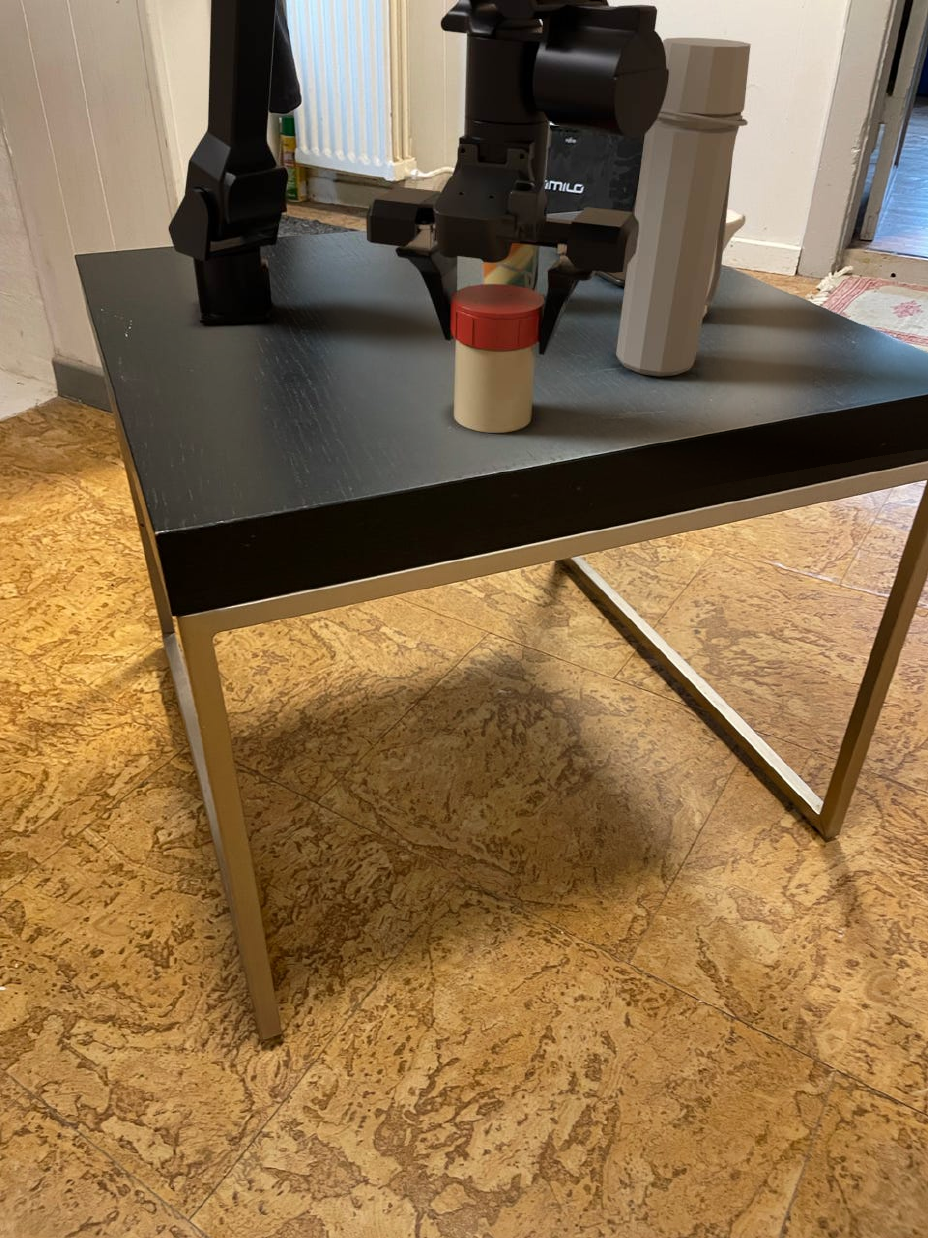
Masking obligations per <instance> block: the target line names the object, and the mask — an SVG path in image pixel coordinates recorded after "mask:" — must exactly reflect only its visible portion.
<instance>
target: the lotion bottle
mask: <svg viewBox="0 0 928 1238" xmlns="http://www.w3.org/2000/svg"><path fill="white" fill-rule="evenodd" d="M539 260H540V246H535V245H527V244H518V243H513V244H512V246H511V250H510V253H509V255H508V257H507V258H506V259H504V260H503V261H501V262H497V263H487V262H483V261H481V262H482V268H481V269H482V270H481V271H482V272H481V273H482V274H481V285H482V284H504V285H513V286H519V287H523V288H527V289H530V290H533V291H535V292H537V293H538V283H539V282H538V279H539Z"/></svg>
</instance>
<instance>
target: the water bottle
mask: <svg viewBox="0 0 928 1238" xmlns="http://www.w3.org/2000/svg"><path fill="white" fill-rule="evenodd" d="M662 42H663V45H664V48H665V54H666V69H668V70H669V79H668V86H667V91H666V96H665V99H664V102H663V105H662V108H661V110H660V112H659V115H658V117H657V119H656V121H655V122H654V124H653V125H652V127H651V128H650V129H649V130H648V131H647V132H646V134H645V135H644V138H643V146H642V153H641V162H640V169H639V178H638V185H637V192H636V199H635V200H636V201H635V207H634V213H633V214H634V215H635V217H636V219H637V220H638V222H639V233H638V240H637V248H636V253H635V255H634V256H633V257H632V259H631V260H630V262H629V263H628V267H627V275H626V282H625V287H624V290H623V299H622V305H621V306H622V307H621V314H620V322H619V327H618V337H617V343H616V344H617V345H616V351H615V356H616V357H617V359H618V361H619V362H620V364H622V366H623V367H625V368H626V369H627V370H630V371H633V372H635V373H638V374H640V375H645V376H652V377H673V376H677V375H680V374H683V373H685V372H688V371H689V370H691V368H693V366H694V364H695V360H696V356H697V350H698V346H699V340H700V335H701V330H702V325H703V324H702V323H703V319H704V317H703V314H704V308H705V305H707V306H709V305H713V302H714V299H715V296H716V294H717V290H718V286H719V282H720V279H721V274H722V267H723V255H724V251H723V246H724V236H725V226H726V217H727V209H728V207H729V197H730V187H731V176H732V166H733V157H734V149H735V145H736V141H737V140H736V139H737V135H738V132H739V129H740V127H743V126H747V125H748V123H749V122H748V121H747V119H744V118H743V117H744V116H743V115H742V112H743V111H744V110H745V104H746V94H747V85H748V74H749V64H750V54H751V45H752V44H751V43H749V42H744V41H740V40H733V39H731V40H730V39H722V38H707V37H706V38H705V37H667V38H665V39H664V40H662ZM717 237H718V239H717ZM716 243H717V249H716V258H715V268H714V274H713V278H712V282H711V287H710V290H709V293H708V295H707V292H708V286H709V281H710V275H711V270H712V265H713V259H714V254H715V248H716ZM706 297H707V298H706Z"/></svg>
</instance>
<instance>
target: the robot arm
mask: <svg viewBox="0 0 928 1238" xmlns="http://www.w3.org/2000/svg"><path fill="white" fill-rule="evenodd" d="M609 4H610V3H609V0H458V1H457V2H456V4H455V5H454V6H452V8H450V9H449V10H448V11H447V12H446V13H445V15H444V16H443V17H442V18H441V19H440V28H441V29H442V30H443V31H444V32H449V33H456V34H457V33H458V34H465V35H466V49H465V53H466V54H465V84H464V85H465V87H464V88H465V89H464V94H465V95H464V123H463V124H464V125H463V128H464V129H463V135H461V136H460V137H459V138H458V147H457V153H456V158H457V159H456V163H455V166H454V169H453V173H452V175H451V176H450V177H448V179H447V181H446V182H445V184H444V186H443V187H442V189H441V191H440V190H434V189H425V188H417V187H415V188H414V187H405V186H396V187H394V188H392V189H390V190H388V191H386V192H385V193H383V194H381V195H380V196H378V197H376V198H374V200H373V201H372V202H371V203H370V204H369V205H368V209H367V212H366V215H365V223H366V224H365V227H366V241H367V242H368V243H371V244H378V245H385V246H392V247H396V248H395V253H396V256H397V257H398V258H400V259H401V258H402V259H406V260H408V261H409V262H410V263H411V264H412V265H413V267H415V268H416V270H418V272H419V274H420V275H421V277H422V280H423V283H424V284H425V286H426V288H427V291H428V293H429V296H430V299H431V301H432V302H431V303H432V306H433V309H434V311H435V314H436V317H437V320H438V322H439V325H440V330H441V331H442V334H443V337H444V340H445V341H447V342H451V341H452V340H453V339H455V338H454V337H453V335H452V333H451V331H452V330H450V327H451V304H452V296H453V294H454V293H455V292H456V291H458V257H460V258H461V257H462V258H467V259H468V258H469V259H476V260H477V259H478V260H480V261H481V262H487V263H497V262H501V261H503V260H504V259H506V258H507V257H508V255H509V253H510V250H511V246H512V244H513V243H518V244H527V245H535V246H539V247H544V248H553V249H556V248H558V249H557V250H556V255H557V256H558V258H557V259H556V261H555V262H554V263H552V265H551V266H550V268H548V270H547V291H546V297H545V301H544V313H543V319H542V324H541V330H540V336H539V343H538V354H539V355H540V356H541V355H542V356H544V355H545V354H546V352H547V351H548V348H549V347H550V345H551V342H552V340H553V338H554V336H555V333H556V331H557V328H558V326H559V323H560V321H561V319H562V317H563V315H564V313H565V310H566V308H567V306H568V303H569V301H570V299H571V297H572V295H573V294H574V291H575V289H576V288H577V286H578V284H580V283H579V282H586V281H590V280H592V278H593V277H594V276H595V275H596V272H597V271H600V272H608V273H618V272H623V271H624V269H625V268H626V266H627V265H628V263H629V262H630V260H631V259H632V257H633V256H634V255H635V253H636V248H637V240H638V233H639V222H638V220H637V219H636V217H635V215H634V214H635V213H634V212H633V211H627V210H616V209H607V208H598V207H589V206H585V207H584V208H583V209H582V210H581V211H580V212H579V214H577V215H576V216H575V217H574V218H573V219H564V218H553V217H548V197H547V195H548V194H547V193H546V181H547V180H546V179H547V169H548V168H547V167H548V155H549V154H548V153H549V148H550V147H551V144H552V143H551V142H552V129H551V124H553V126H556V127H562V128H567V129H572V130H577V131H578V130H579V131H584V132H589V133H595V134H600V135H606V136H612V137H617V138H623V139H628V140H638V139H640V138H641V137H643V136H645V134H646V132H647V131H648V130H649V129H650V128H651V127H652V125H653V124H654V122H655V121H656V119H657V117H658V115H659V112H660V110H661V108H662V105H663V102H664V99H665V96H666V91H667V86H668V79H669V70H668V69H666V54H665V48H664V45H663V40H662V38H661V36H660V34H659V33H658V31H656V25H657V17H658V8H657V7H656V6H655V5H650V4H649V5H648V4H626V5H618V6H615V5H613V6H612V5H609ZM276 10H277V0H210V26H209V27H210V28H209V30H210V31H209V33H210V34H209V63H208V64H209V65H208V66H209V67H208V107H207V108H208V109H207V110H208V111H207V128H206V131H205V133H204V134H203V136H202V138H201V139H200V141H199V143H198V144H197V146H196V148H195V149H194V151H193V153H192V154H191V156H190V158H189V159H188V164H187V169H186V177H185V179H186V180H185V187H184V195H183V197H182V199H181V201H180V204H179V205H178V207H177V209H176V212H175V213H174V215H173V217H172V219H171V221H170V223H169V225H168V233H169V236H170V239H171V242H172V245H173V248H174V251H175V252H176V253H179V254H182V255H185V256H188V257H190V258H192V260H193V261H192V262H193V268H194V275H195V283H196V290H197V295H198V296H197V297H198V303H199V311H198V313H199V314H198V320H199V324H203V325H209V324H232V323H233V324H235V323H258V322H268V321H269V311H271V310H272V309H273V300H272V291H271V289H272V288H271V280H270V269H269V261H268V260H267V259H266V258H262V252H261V248H262V247H266V246H275V245H277V244H278V243H277V242H278V237H279V229H280V222H281V220H282V216H283V213H287V212H288V207H287V187H288V182H289V177H290V175H289V172H288V169H287V168H286V167H285V166H283V165H280V164H279V163H278V161H277V159H276V157H275V155H274V153H273V151H272V148H271V146H270V144H269V142H268V126H269V113H270V112H269V111H270V110H269V109H270V99H271V85H272V83H271V82H272V68H273V67H272V66H273V54H274V39H275V26H276V24H275V23H276Z"/></svg>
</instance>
